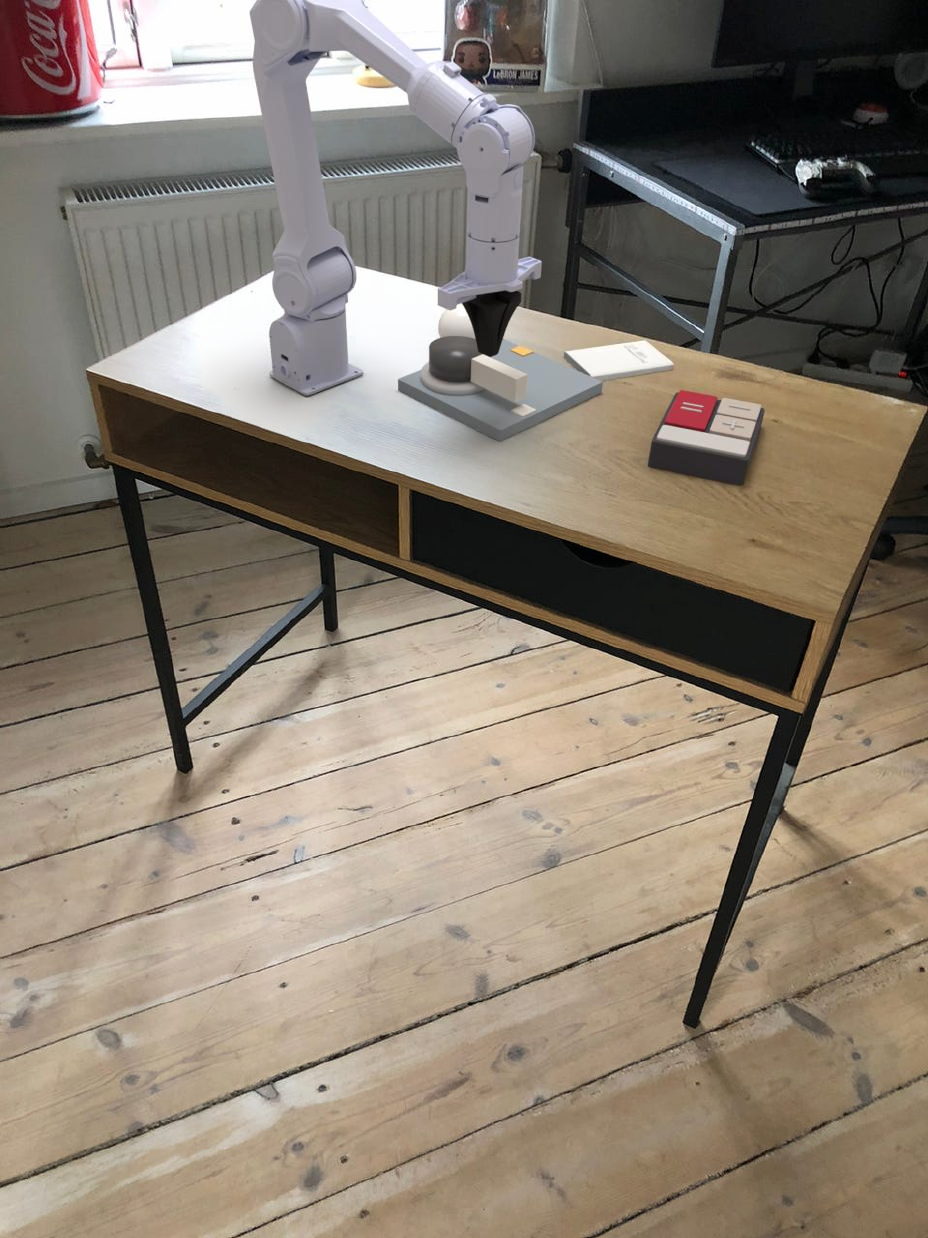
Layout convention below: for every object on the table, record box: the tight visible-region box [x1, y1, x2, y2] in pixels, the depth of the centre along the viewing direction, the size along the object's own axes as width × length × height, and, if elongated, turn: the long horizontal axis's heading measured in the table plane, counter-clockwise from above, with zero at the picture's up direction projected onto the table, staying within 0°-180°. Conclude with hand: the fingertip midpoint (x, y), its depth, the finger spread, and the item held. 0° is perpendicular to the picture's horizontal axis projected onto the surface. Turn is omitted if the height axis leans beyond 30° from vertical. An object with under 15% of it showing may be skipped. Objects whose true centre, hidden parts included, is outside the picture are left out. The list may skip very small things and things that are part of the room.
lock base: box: [397, 338, 604, 443], centre depth 131 cm, size 19×18×2 cm
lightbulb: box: [437, 303, 475, 339], centre depth 141 cm, size 6×6×11 cm
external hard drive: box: [563, 339, 675, 382], centre depth 139 cm, size 2×8×12 cm
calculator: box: [647, 389, 765, 487], centre depth 121 cm, size 11×4×15 cm
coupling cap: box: [428, 336, 528, 402], centre depth 127 cm, size 14×7×3 cm, turn 45°
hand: (488, 352), depth 118 cm, fingers closed
